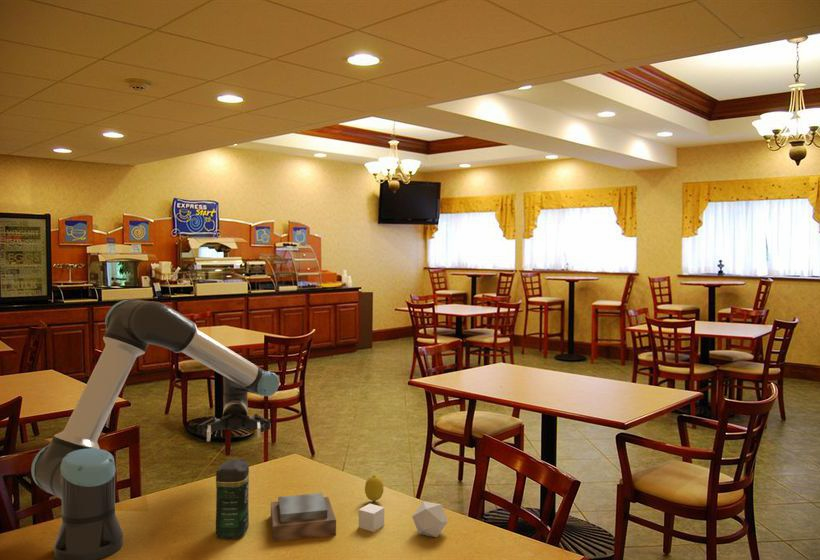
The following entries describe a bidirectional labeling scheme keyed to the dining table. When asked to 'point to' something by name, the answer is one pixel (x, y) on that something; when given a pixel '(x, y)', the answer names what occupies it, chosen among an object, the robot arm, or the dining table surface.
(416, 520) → the die
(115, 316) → the robot arm
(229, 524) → the coffee jar
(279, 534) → the tower stand
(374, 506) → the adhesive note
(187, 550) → the dining table surface
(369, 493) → the lemon
